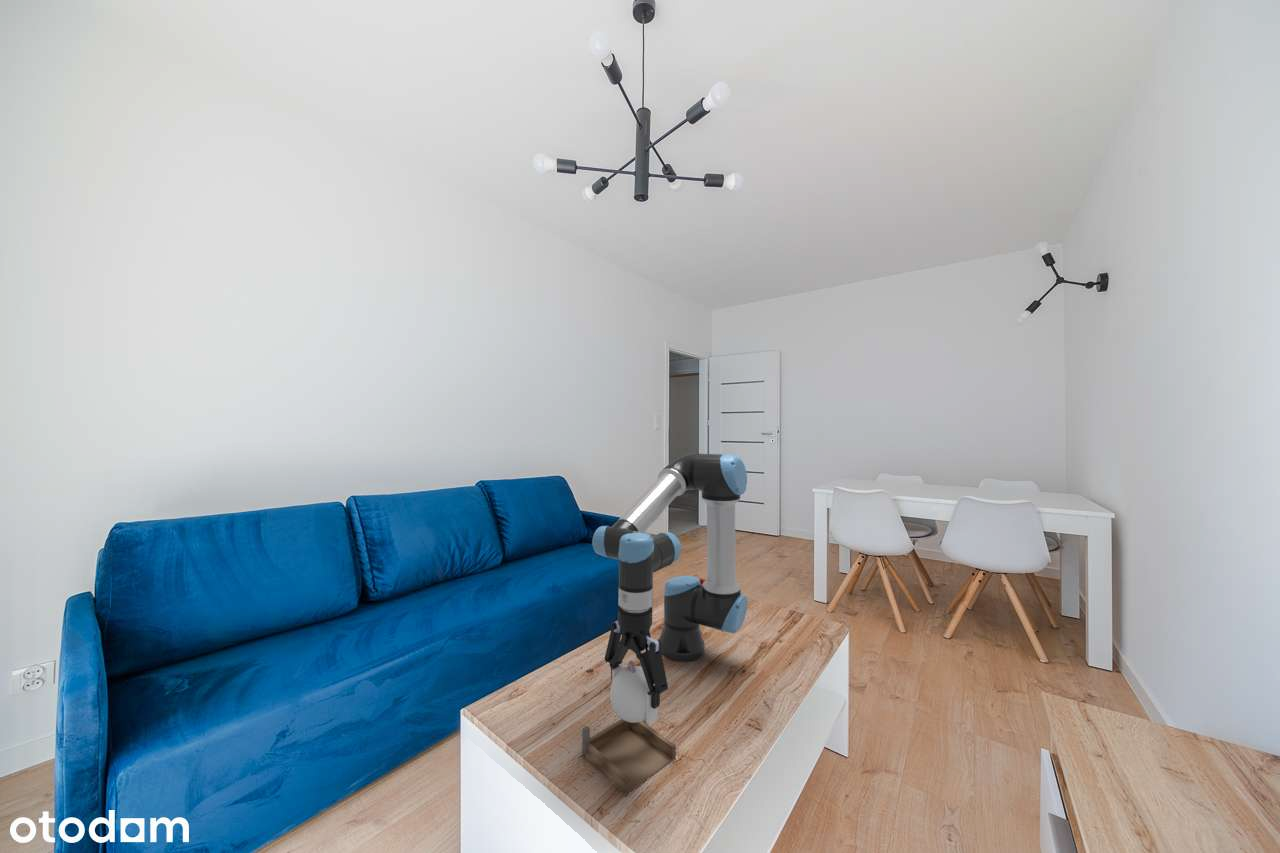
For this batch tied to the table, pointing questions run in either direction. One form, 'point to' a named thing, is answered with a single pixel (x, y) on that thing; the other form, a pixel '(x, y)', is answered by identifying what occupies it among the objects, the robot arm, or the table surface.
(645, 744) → the keeper
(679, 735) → the table surface
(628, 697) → the ornament
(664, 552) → the robot arm
